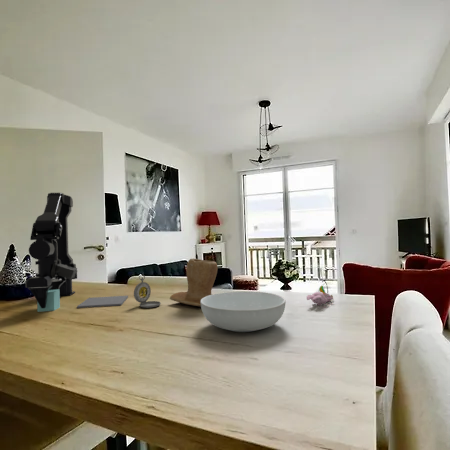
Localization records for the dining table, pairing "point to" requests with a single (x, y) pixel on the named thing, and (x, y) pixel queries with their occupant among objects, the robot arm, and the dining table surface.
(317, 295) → the stuffed toy
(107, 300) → the charcoal mat
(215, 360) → the dining table surface
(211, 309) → the serving bowl
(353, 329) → the dining table surface
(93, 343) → the dining table surface
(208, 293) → the tan curved piece
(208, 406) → the dining table surface
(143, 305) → the pocket watch
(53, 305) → the teal block
